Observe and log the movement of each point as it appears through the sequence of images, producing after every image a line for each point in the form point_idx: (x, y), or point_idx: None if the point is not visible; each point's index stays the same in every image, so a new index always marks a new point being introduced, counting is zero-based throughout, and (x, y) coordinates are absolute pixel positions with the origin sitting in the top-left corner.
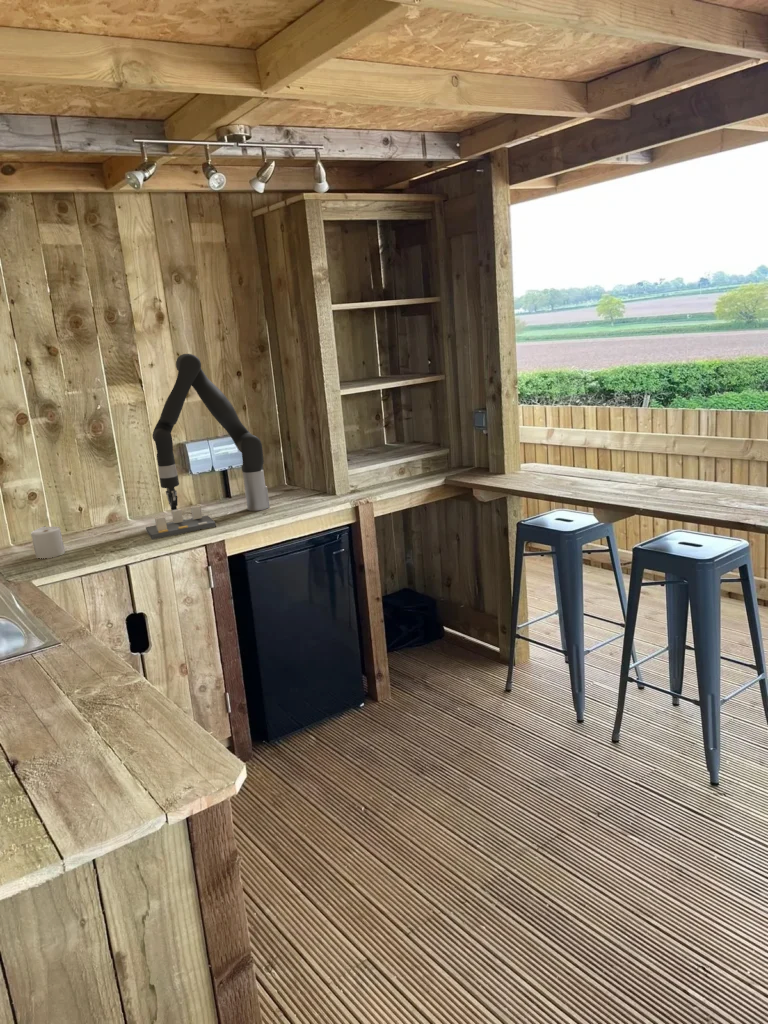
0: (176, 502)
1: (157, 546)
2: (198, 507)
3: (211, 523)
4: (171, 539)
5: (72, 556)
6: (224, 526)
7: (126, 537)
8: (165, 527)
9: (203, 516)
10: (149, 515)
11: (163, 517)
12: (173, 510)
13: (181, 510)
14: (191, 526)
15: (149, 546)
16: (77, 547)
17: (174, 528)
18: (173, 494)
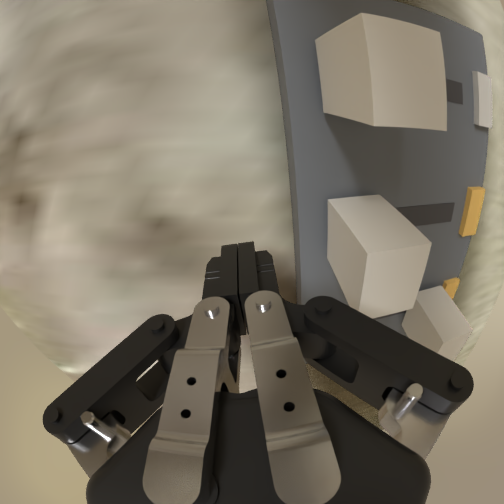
0: (384, 335)
1: (493, 291)
2: (438, 56)
3: (482, 55)
4: (482, 254)
5: (376, 419)
6: (471, 9)
7: (320, 383)
8: (443, 296)
9: (289, 18)
10: (27, 321)
11: (468, 336)
12: (378, 307)
13: (429, 241)
14: (481, 167)
15: (474, 311)
16: None
17: (445, 251)
18: (432, 443)
